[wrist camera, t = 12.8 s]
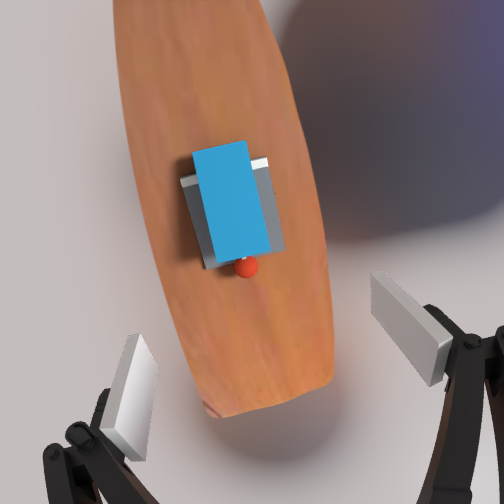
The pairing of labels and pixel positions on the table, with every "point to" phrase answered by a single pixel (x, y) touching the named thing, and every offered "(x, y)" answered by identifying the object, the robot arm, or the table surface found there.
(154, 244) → the table surface
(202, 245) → the mat
